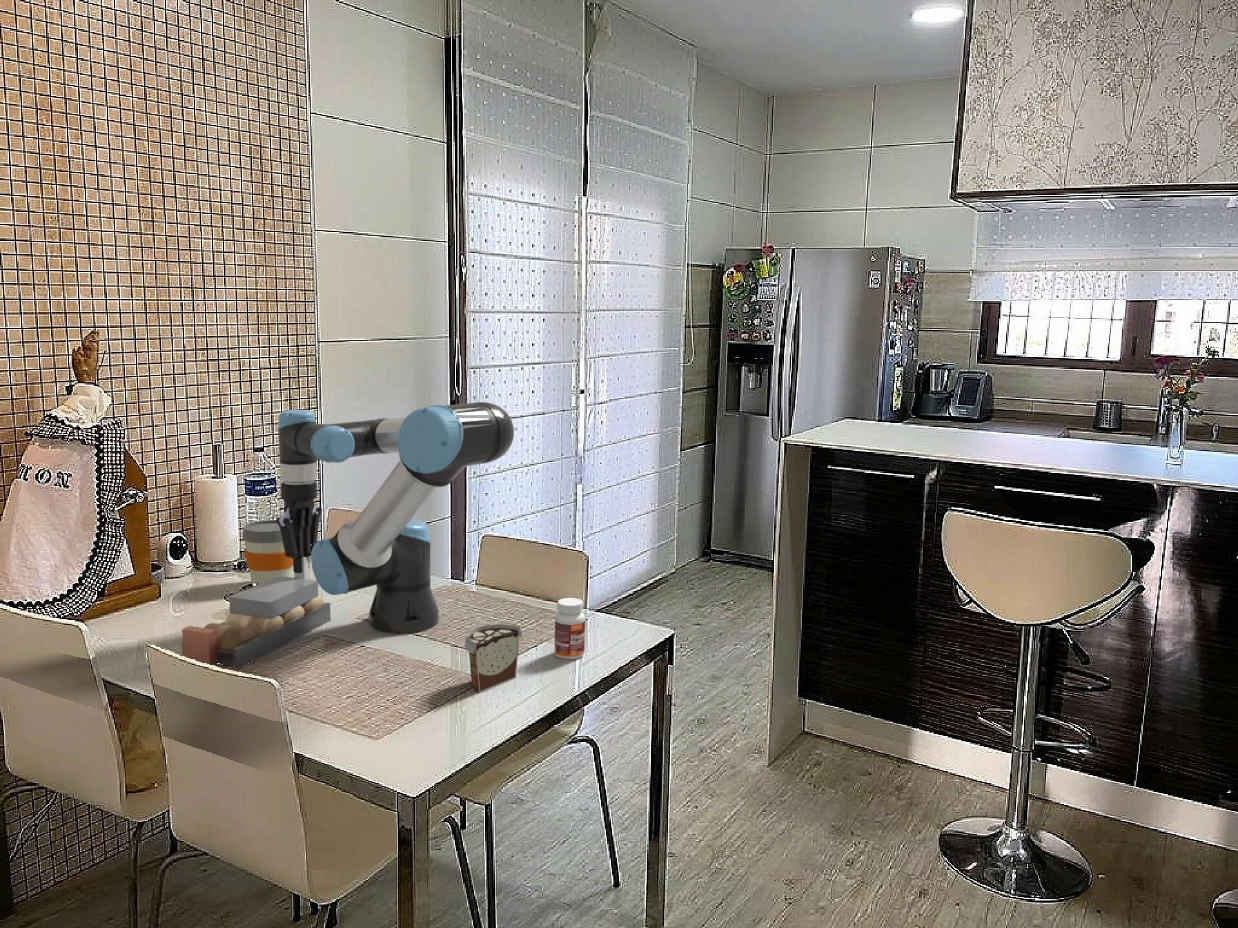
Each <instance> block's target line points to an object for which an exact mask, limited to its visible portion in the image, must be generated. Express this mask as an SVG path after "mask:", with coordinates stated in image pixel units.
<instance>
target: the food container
mask: <svg viewBox="0 0 1238 928" xmlns="http://www.w3.org/2000/svg"><path fill="white" fill-rule="evenodd" d="M520 637H523V634H522V629H521V626H519V625H514V624H506V623H504V624H503V623H499V624H498V623H495V624H487V625H481V626H478V627H475V628H472V629H471V630H470V631H469V632H468V633H467V636H466V638H465V643H464V648H465V650H466V651H467V652H468V657H469V666H470V667H469V668H470V669H469V670H470V679H471V680H470V681H471V687H472V689H473V690H474V692H476V693H478V694H480V693H483V692H485V691H488V690H490V689H492V688H495V687H497V686H500V685H502V684H505V683H507V682H509V681H512V680H515V679H516V678H517V670H518V669H517V668H518V659H519V658H518V656H519V646H520Z"/></svg>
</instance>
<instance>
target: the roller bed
mask: <svg viewBox="0 0 1238 928" xmlns="http://www.w3.org/2000/svg"><path fill="white" fill-rule="evenodd" d="M331 615H332V614H331V602H324V604H322V605H320V606H318V607H316V608H314V609H312V610H310V611H308V612H306V613H304V614H302V615H300V616H298V617H296V618H294V619H292V620H290V621H288V622H286V623H284V624H282V625H280V626H278V627H276V628H274V629H272V630H270V631H268V632H266V633H264V634H262V635H260V636H258V637H256V638H254V639H252V640H250V641H248V642H246V643H244V644H242V645H240V646H238V647H236V648H234V649H233V652H232V651H225V650H219V649H217V646H216V630H214V629H207V628H204V627H200V626H195V625H194V626H193V625H189V626H187V627H184V628H182V629H181V633H182V634H181V636H182V640H181V650H182V651H181V652H182V657H183V656H185V657H187V658H190V659H195V660H196V661H199V662H202V663H207V664H210V665H215V666H218V665H219V664H217V663H220V664H223V665H222V666H225V665H227V666H228V667H233V670H240V669H242V668H243V666H244V665H246V664H248V663H249V664H251V663H253V662H255V661H257V660H258V659H261V658H262V657H264V656H267V655H268V654H270V653H272V652H274V651H275V650H277V649H280V648H281V647H283V646H285V645H287V644H289V643H291V642H293V641H294V640H297V639H298V638H300V637H301V636H304V635H306V634H308V633H309V632H311V631H313V630H316V629H317V628H319V627H321V626H322V625H325V624H326V623H328V622H330V621H331ZM219 624H223V625H224V624H225V620H224V621H222V622H220V623H219ZM256 659H257V660H256ZM252 661H253V662H252ZM249 664H248V665H249ZM227 666H226V667H227ZM246 666H247V665H246ZM218 667H219V666H218ZM241 667H242V668H241ZM244 667H245V666H244ZM235 668H236V669H235Z"/></svg>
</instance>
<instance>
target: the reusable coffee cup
mask: <svg viewBox="0 0 1238 928" xmlns="http://www.w3.org/2000/svg"><path fill="white" fill-rule="evenodd" d="M242 540H243V541H244V547H245V548H244V557H245V558H244V559H245V561H246V562H245V563H246V567H247V569H248V570H249V574H250V580H251V584H252V583H263V582H265V581H268V580H270V579H273V578H275V577H277V576H284V577H292V578H293V576H292V575H293V559H292V558H290V557H286V555H285V550H284V545H283V541H282V536H281V531H280V527H279V525H278V524H277V522H276V519H269V520H268V519H267V520H258V521H253V522H250V523H247V524H245V525H243V527H242Z"/></svg>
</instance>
